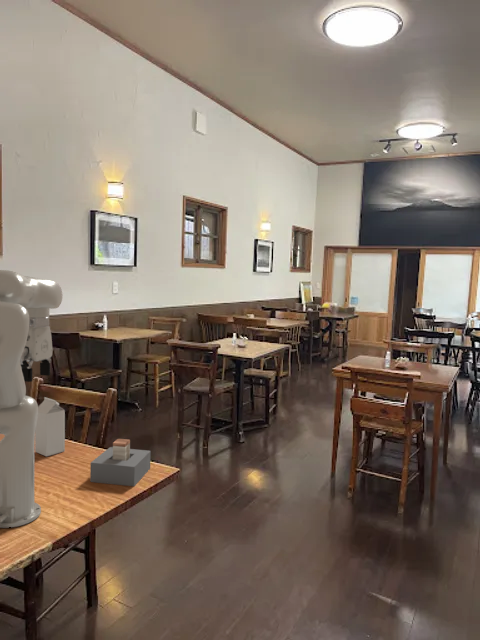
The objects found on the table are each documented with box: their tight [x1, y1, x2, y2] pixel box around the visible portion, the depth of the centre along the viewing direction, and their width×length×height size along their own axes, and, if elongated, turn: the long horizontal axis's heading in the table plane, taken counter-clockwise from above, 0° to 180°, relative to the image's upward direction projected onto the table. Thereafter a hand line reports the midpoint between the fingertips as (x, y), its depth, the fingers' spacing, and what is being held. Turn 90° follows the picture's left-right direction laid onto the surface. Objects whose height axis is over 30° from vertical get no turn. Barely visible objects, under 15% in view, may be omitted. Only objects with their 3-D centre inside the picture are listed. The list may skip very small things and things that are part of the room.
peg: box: [112, 438, 131, 461], centre depth 152 cm, size 4×4×11 cm
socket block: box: [89, 446, 151, 487], centre depth 152 cm, size 14×14×6 cm
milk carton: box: [34, 396, 66, 457], centre depth 169 cm, size 7×7×19 cm
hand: (36, 378), depth 149 cm, fingers open, 9 cm apart
